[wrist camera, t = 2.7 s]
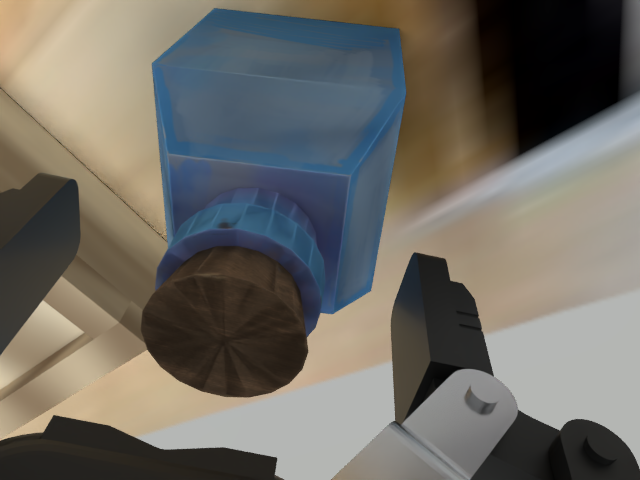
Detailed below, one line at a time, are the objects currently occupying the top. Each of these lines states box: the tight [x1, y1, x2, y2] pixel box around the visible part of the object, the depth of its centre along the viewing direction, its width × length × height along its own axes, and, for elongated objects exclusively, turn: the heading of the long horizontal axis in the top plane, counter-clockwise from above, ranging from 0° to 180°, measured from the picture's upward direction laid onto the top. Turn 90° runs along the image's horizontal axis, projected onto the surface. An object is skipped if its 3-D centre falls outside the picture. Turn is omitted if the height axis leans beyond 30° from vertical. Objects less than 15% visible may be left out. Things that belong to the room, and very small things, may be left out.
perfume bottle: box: [141, 8, 406, 397], centre depth 15 cm, size 6×6×12 cm
